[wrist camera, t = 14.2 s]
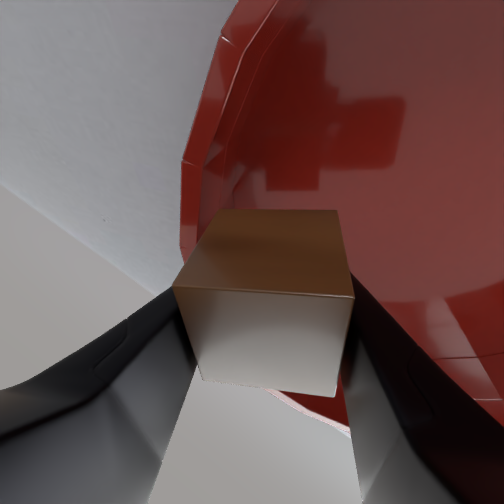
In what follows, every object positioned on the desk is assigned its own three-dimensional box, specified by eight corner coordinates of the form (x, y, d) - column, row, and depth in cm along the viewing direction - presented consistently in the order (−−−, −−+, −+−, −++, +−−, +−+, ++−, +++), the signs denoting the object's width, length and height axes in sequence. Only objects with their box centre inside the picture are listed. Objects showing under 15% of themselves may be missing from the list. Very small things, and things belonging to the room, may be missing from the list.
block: (326, 298, 11) (334, 398, 8) (231, 292, 11) (202, 380, 8) (337, 209, 8) (355, 297, 5) (218, 208, 9) (170, 285, 6)
